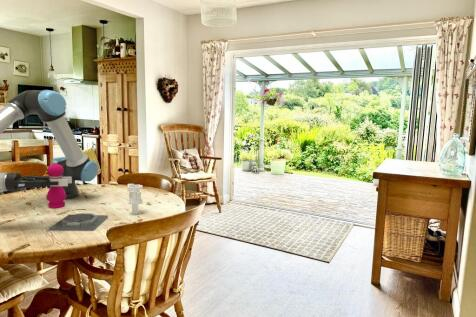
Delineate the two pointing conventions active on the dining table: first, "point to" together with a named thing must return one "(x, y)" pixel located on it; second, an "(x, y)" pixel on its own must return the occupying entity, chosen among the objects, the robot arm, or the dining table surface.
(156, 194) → the dining table surface
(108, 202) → the dining table surface
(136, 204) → the white blocky figurine
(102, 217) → the collar plate
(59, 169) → the pepper mill
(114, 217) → the dining table surface
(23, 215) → the dining table surface
